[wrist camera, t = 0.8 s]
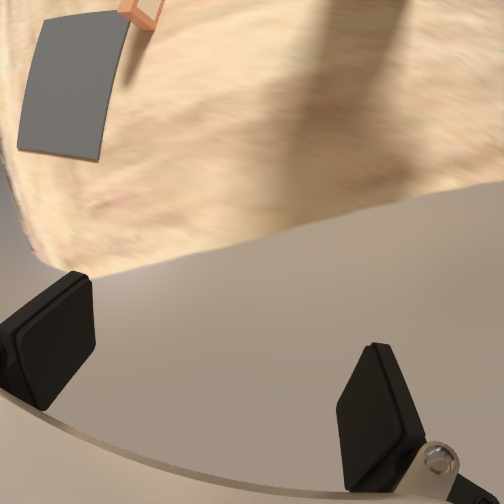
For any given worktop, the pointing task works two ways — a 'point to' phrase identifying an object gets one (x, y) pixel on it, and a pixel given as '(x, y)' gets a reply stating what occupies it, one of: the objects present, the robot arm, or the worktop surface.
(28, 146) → the mat
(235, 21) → the worktop surface
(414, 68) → the worktop surface
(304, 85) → the worktop surface
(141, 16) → the block
